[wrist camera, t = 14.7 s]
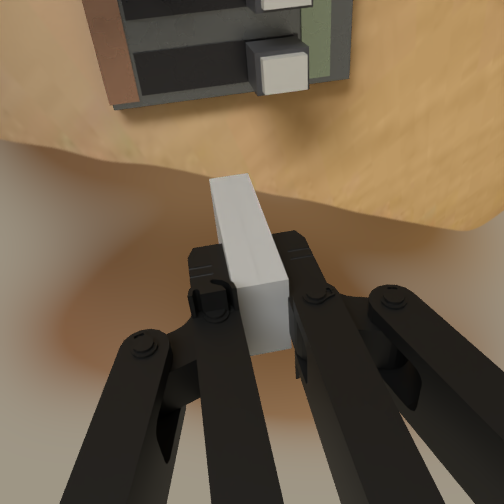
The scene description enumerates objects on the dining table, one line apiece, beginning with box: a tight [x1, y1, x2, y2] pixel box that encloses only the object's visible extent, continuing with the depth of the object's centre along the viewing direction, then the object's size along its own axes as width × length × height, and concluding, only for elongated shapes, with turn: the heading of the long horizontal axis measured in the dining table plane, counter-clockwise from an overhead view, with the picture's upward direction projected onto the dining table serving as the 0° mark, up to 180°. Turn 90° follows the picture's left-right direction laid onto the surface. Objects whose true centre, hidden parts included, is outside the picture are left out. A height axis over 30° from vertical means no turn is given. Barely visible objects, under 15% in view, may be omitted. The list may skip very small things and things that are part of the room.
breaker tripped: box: [245, 36, 309, 96], centre depth 34 cm, size 4×3×5 cm
